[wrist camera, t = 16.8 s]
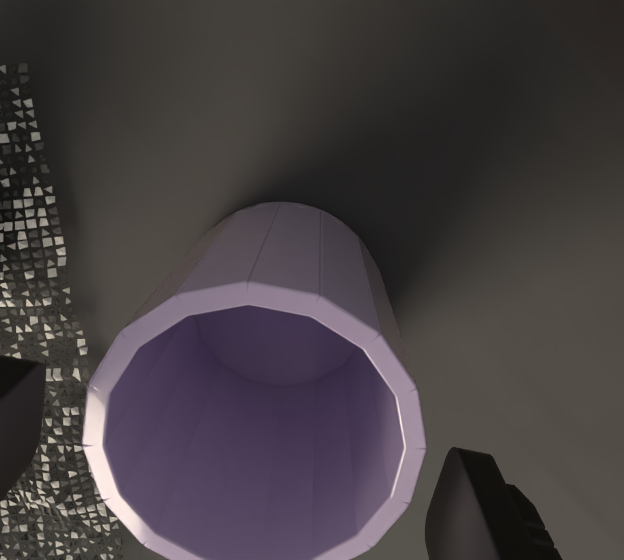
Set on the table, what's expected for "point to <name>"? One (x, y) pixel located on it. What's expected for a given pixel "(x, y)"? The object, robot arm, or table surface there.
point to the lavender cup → (260, 398)
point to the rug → (56, 372)
